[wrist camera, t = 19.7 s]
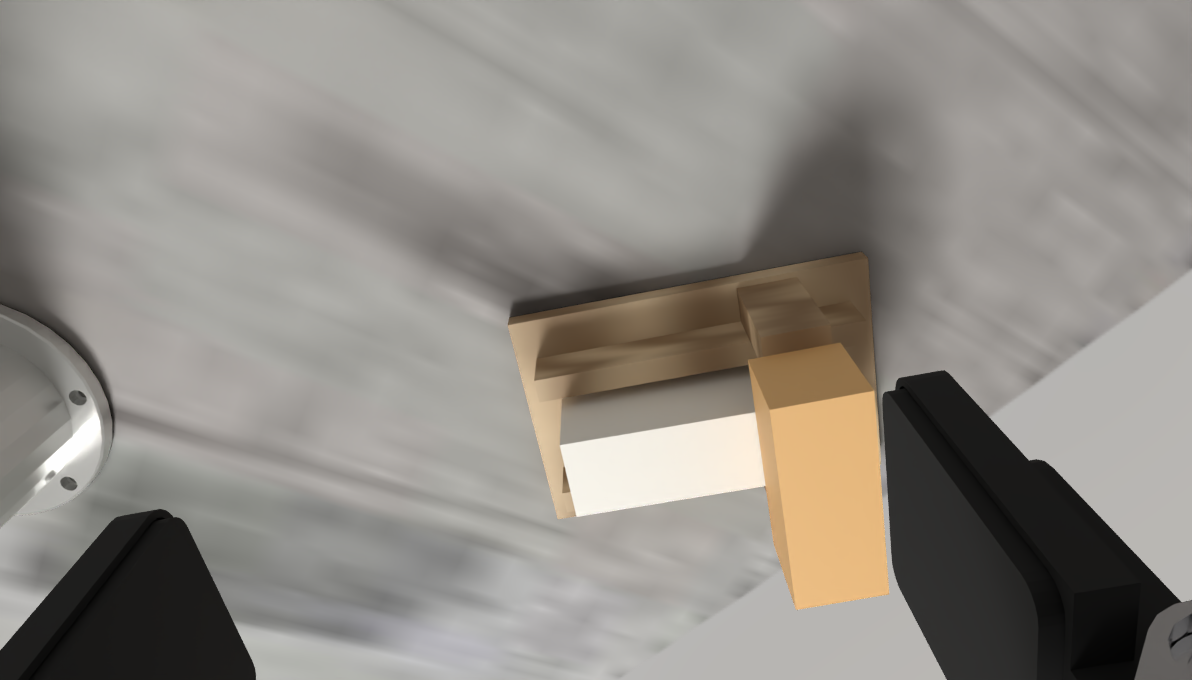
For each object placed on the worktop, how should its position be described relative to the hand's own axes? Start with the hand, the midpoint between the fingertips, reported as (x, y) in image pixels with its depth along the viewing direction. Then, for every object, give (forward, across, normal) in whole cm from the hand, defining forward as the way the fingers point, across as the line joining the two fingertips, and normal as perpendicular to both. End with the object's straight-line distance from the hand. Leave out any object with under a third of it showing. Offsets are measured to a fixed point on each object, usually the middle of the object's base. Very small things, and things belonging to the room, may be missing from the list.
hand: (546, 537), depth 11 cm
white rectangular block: (+29, -4, +14) cm, 33 cm away
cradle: (+30, -4, +14) cm, 34 cm away
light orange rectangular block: (+23, -8, +15) cm, 29 cm away
